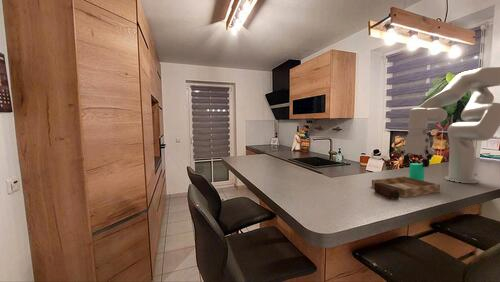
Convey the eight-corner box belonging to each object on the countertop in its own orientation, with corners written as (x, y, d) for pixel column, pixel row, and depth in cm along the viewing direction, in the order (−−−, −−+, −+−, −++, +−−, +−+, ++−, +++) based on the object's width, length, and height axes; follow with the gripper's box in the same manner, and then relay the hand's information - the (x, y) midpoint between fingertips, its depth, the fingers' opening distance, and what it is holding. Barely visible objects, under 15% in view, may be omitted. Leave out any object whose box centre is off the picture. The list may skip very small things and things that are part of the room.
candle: (426, 185, 106) (427, 161, 106) (415, 185, 107) (415, 161, 106) (417, 181, 112) (418, 159, 112) (406, 182, 113) (407, 160, 112)
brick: (373, 192, 98) (373, 182, 97) (381, 192, 98) (381, 182, 98) (390, 200, 87) (390, 189, 87) (399, 200, 87) (399, 189, 87)
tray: (403, 182, 112) (403, 176, 111) (439, 191, 95) (439, 184, 95) (371, 186, 106) (371, 180, 106) (404, 197, 90) (404, 189, 90)
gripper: (441, 132, 100) (439, 168, 101) (406, 132, 117) (404, 162, 118) (430, 132, 98) (428, 168, 99) (396, 132, 115) (394, 162, 116)
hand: (415, 165), depth 109 cm, fingers open, 9 cm apart
